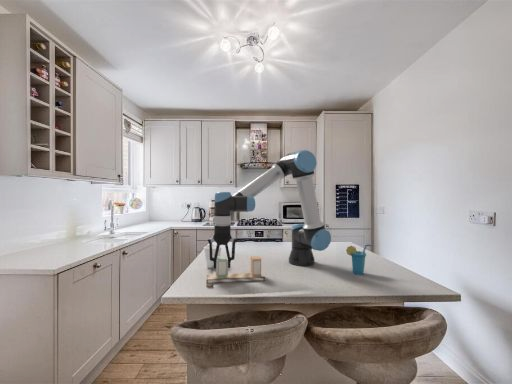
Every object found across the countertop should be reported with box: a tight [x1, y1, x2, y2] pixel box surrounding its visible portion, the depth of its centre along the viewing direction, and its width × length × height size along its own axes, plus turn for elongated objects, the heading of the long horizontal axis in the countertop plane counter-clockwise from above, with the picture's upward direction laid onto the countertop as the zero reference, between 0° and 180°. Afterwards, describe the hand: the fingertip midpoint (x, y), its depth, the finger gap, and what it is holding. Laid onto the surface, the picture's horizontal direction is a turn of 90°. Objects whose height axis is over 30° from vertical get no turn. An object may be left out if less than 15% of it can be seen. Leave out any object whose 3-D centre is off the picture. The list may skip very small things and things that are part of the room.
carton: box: [218, 255, 228, 279], centre depth 122 cm, size 4×6×9 cm, turn 10°
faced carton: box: [250, 255, 262, 277], centre depth 125 cm, size 4×6×9 cm, turn 10°
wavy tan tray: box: [205, 272, 266, 287], centre depth 123 cm, size 26×12×3 cm, turn 100°
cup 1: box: [203, 244, 223, 269], centre depth 145 cm, size 10×10×11 cm
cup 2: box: [345, 244, 374, 276], centre depth 136 cm, size 14×8×15 cm, turn 98°
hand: (221, 275), depth 122 cm, fingers closed on carton, 4 cm apart
